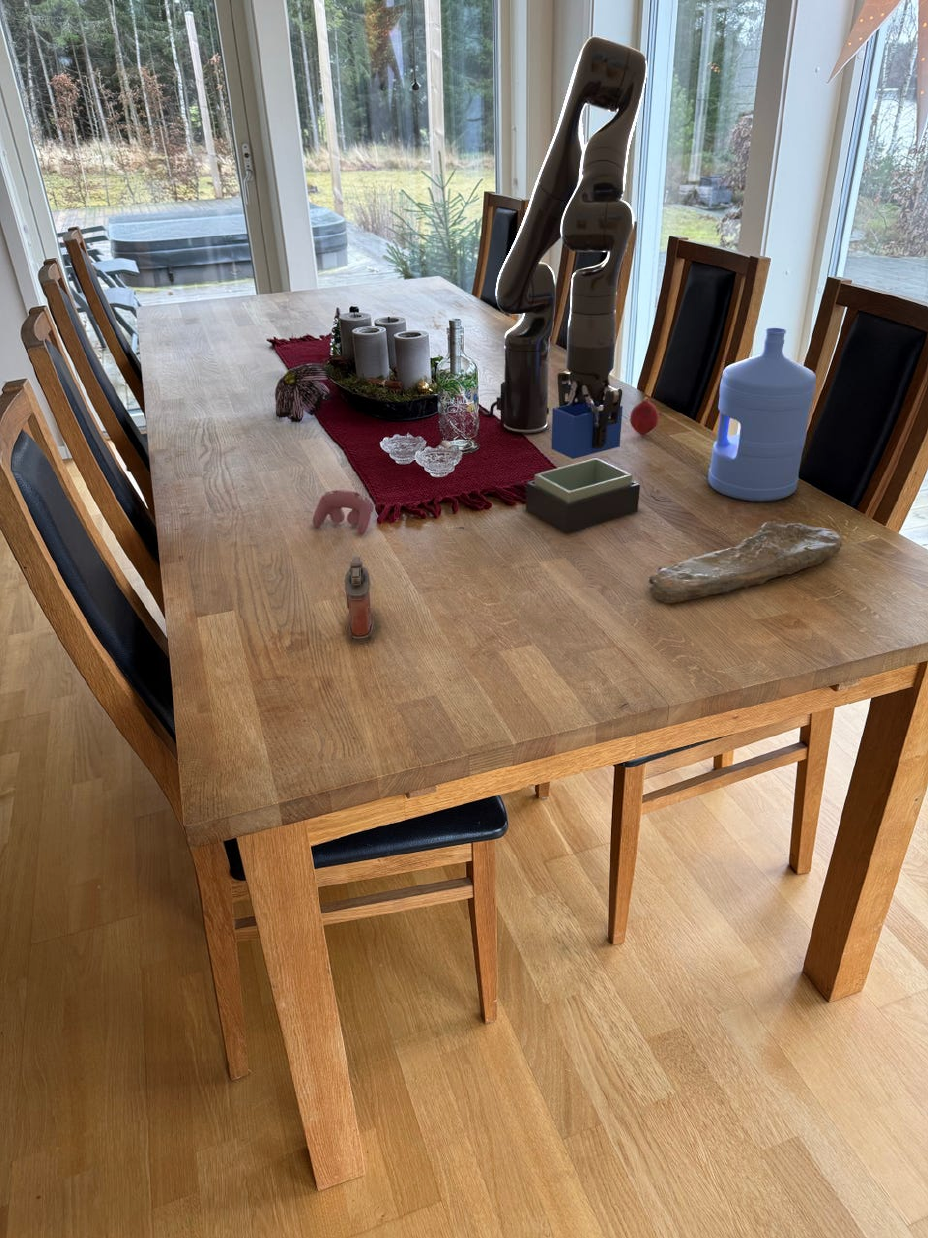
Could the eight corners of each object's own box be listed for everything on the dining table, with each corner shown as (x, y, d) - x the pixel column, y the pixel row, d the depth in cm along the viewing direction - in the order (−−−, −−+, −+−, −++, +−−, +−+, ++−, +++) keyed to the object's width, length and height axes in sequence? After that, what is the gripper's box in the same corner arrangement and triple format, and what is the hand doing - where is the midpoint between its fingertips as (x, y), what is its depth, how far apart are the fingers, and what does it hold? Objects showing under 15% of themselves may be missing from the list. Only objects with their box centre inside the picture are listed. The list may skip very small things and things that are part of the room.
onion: (656, 440, 185) (660, 402, 181) (628, 439, 186) (631, 401, 182) (656, 431, 190) (660, 393, 185) (629, 429, 191) (632, 392, 186)
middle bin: (567, 527, 149) (569, 492, 146) (533, 507, 156) (534, 474, 153) (629, 508, 155) (632, 474, 152) (594, 489, 162) (596, 457, 159)
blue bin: (572, 459, 146) (574, 417, 142) (551, 448, 150) (552, 408, 146) (619, 446, 150) (622, 405, 146) (597, 436, 154) (600, 396, 151)
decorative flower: (252, 368, 201) (312, 341, 203) (269, 408, 210) (327, 382, 212) (272, 403, 192) (335, 374, 194) (289, 443, 201) (349, 415, 203)
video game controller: (373, 535, 153) (378, 494, 152) (362, 534, 148) (367, 492, 148) (321, 527, 156) (326, 487, 155) (309, 527, 151) (314, 485, 150)
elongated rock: (631, 591, 134) (672, 625, 127) (633, 562, 131) (676, 594, 124) (808, 531, 146) (855, 558, 139) (814, 502, 143) (862, 529, 136)
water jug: (801, 476, 167) (830, 323, 152) (789, 509, 155) (819, 345, 140) (716, 465, 173) (737, 315, 158) (699, 495, 161) (719, 336, 146)
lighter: (350, 613, 128) (343, 550, 123) (373, 611, 128) (368, 549, 123) (348, 643, 121) (341, 578, 116) (373, 642, 121) (368, 577, 116)
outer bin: (566, 534, 148) (567, 505, 146) (525, 510, 157) (526, 482, 154) (637, 511, 155) (640, 484, 153) (595, 489, 164) (596, 463, 161)
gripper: (640, 345, 137) (631, 449, 146) (581, 327, 148) (576, 425, 156) (602, 353, 134) (595, 459, 143) (544, 333, 144) (542, 434, 153)
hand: (585, 441), depth 149 cm, fingers closed on blue bin, 5 cm apart
